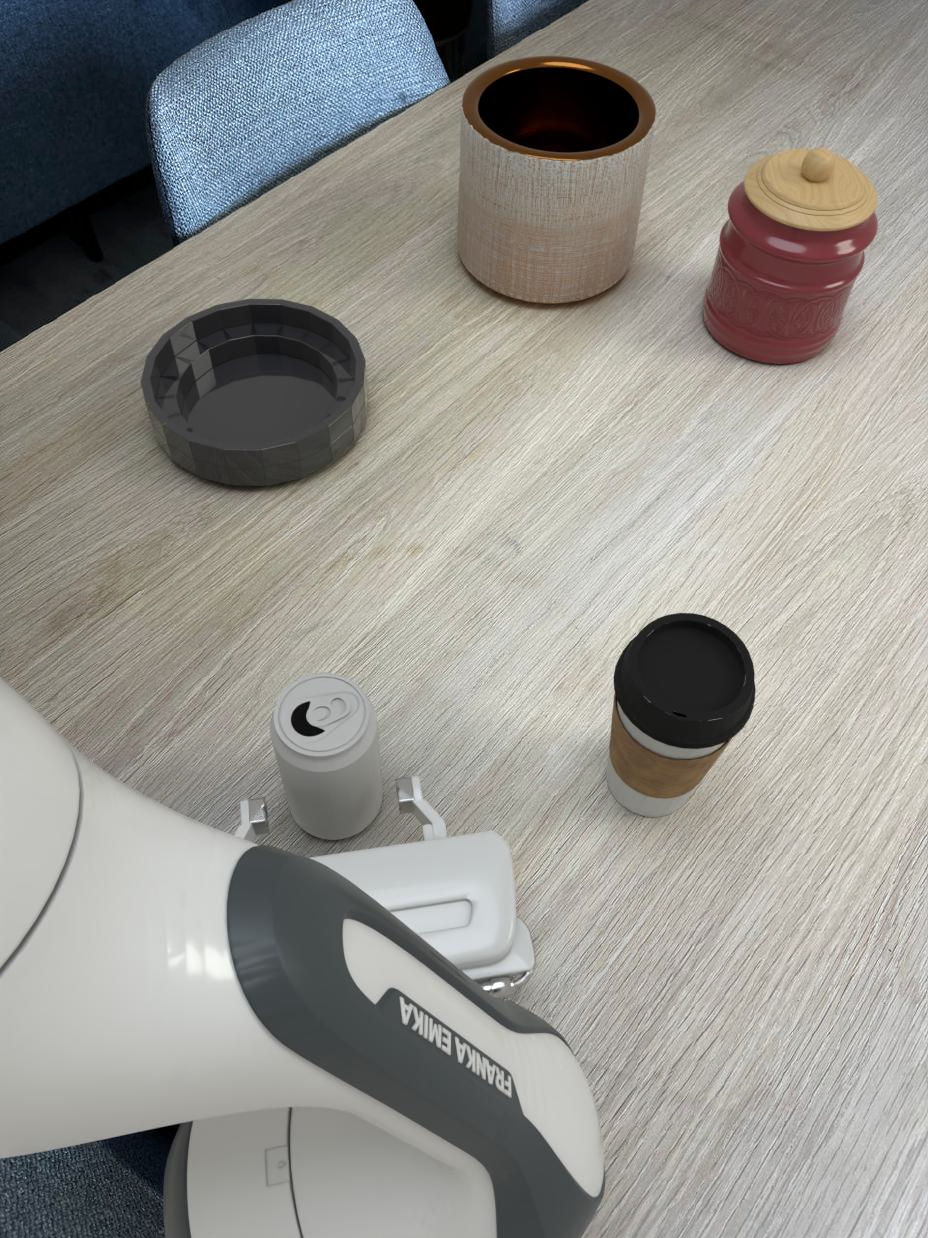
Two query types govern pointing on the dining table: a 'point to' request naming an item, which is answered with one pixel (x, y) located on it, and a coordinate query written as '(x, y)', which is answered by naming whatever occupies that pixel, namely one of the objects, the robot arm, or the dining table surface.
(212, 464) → the grey shallow round dish
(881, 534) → the dining table surface
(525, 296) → the planter
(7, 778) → the robot arm
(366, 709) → the beverage can
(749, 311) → the kitchen canister
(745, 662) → the coffee cup
